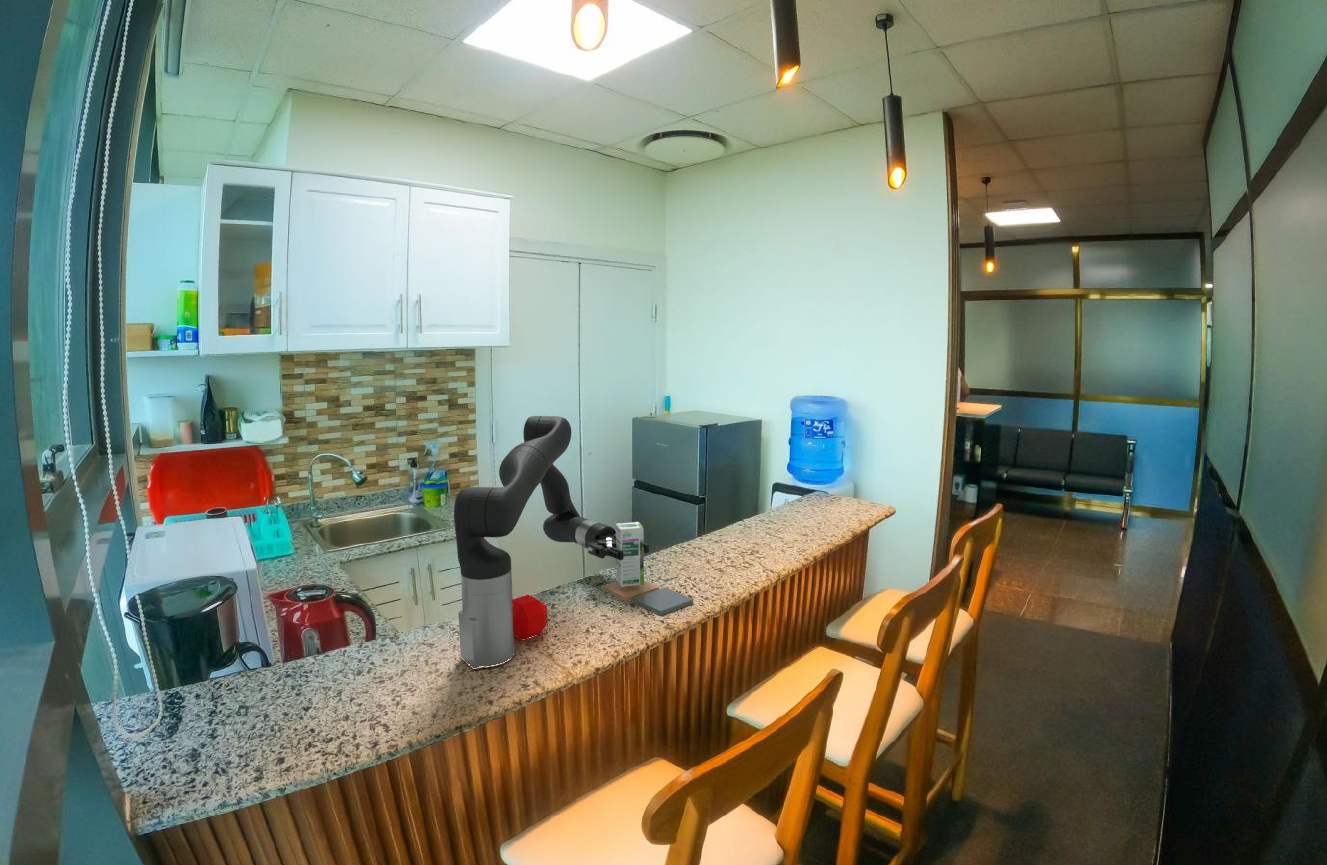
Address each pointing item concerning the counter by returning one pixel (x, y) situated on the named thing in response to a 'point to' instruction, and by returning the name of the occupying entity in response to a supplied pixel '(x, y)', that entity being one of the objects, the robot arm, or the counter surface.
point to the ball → (528, 616)
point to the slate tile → (663, 601)
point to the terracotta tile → (629, 590)
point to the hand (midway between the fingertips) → (635, 552)
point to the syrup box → (630, 554)
